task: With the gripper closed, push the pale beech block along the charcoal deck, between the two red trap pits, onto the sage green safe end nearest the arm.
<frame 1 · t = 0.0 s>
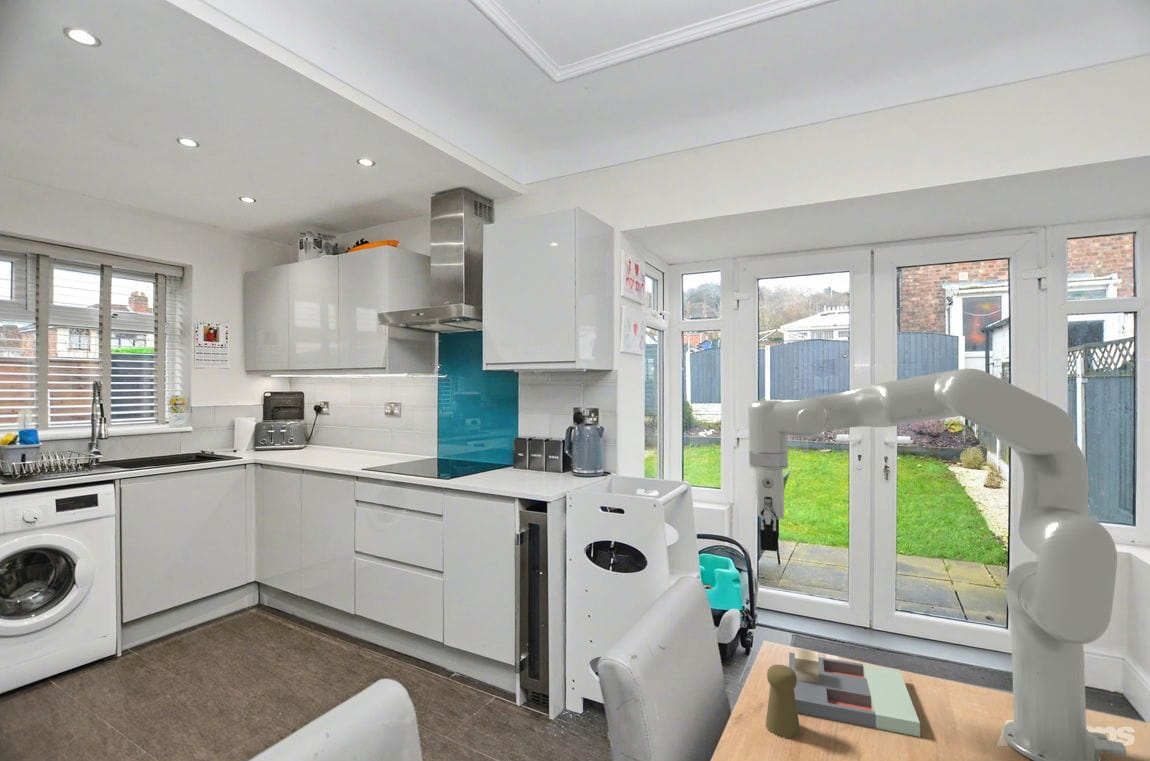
hand: (770, 543, 111), 31 cm above the table, tool pointing down, fingers open, 9 cm apart
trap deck: (846, 695, 111), on the table
olive pawn: (782, 729, 100), on the table
beech block: (806, 676, 114), point 2 cm above the table, touching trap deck
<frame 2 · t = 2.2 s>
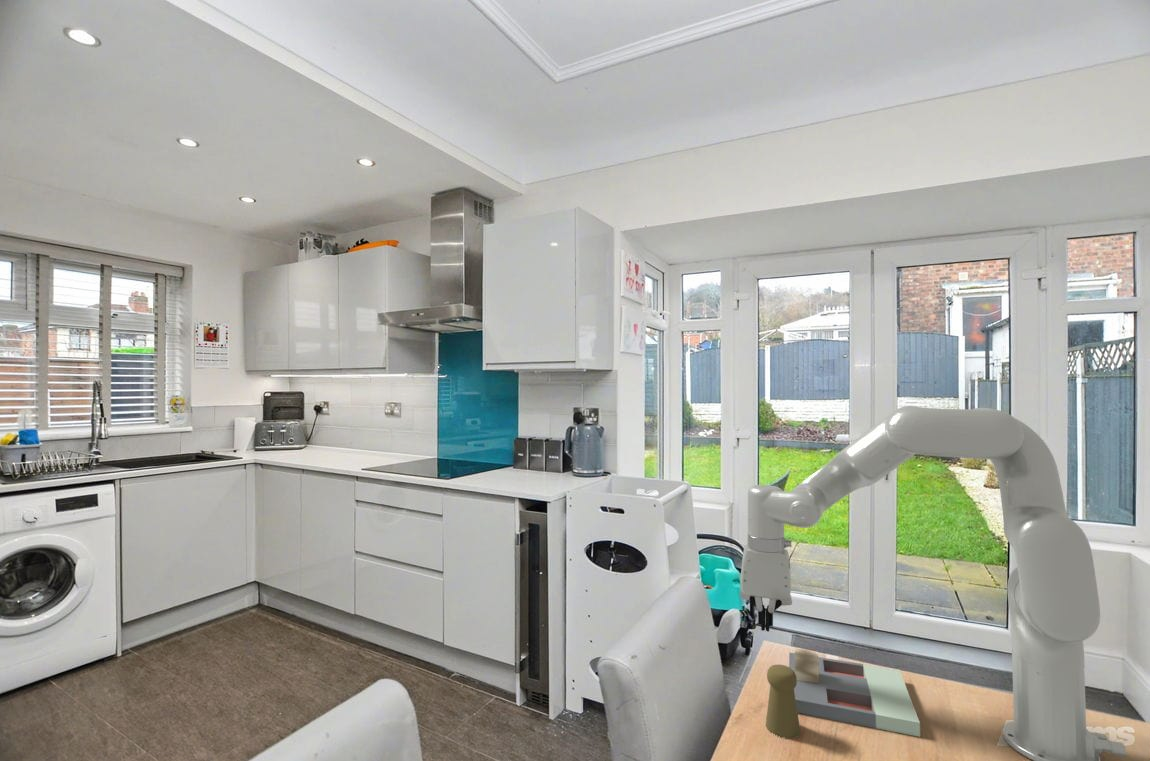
hand: (765, 628, 117), 11 cm above the table, tool pointing down, fingers closed
nothing on the table moved.
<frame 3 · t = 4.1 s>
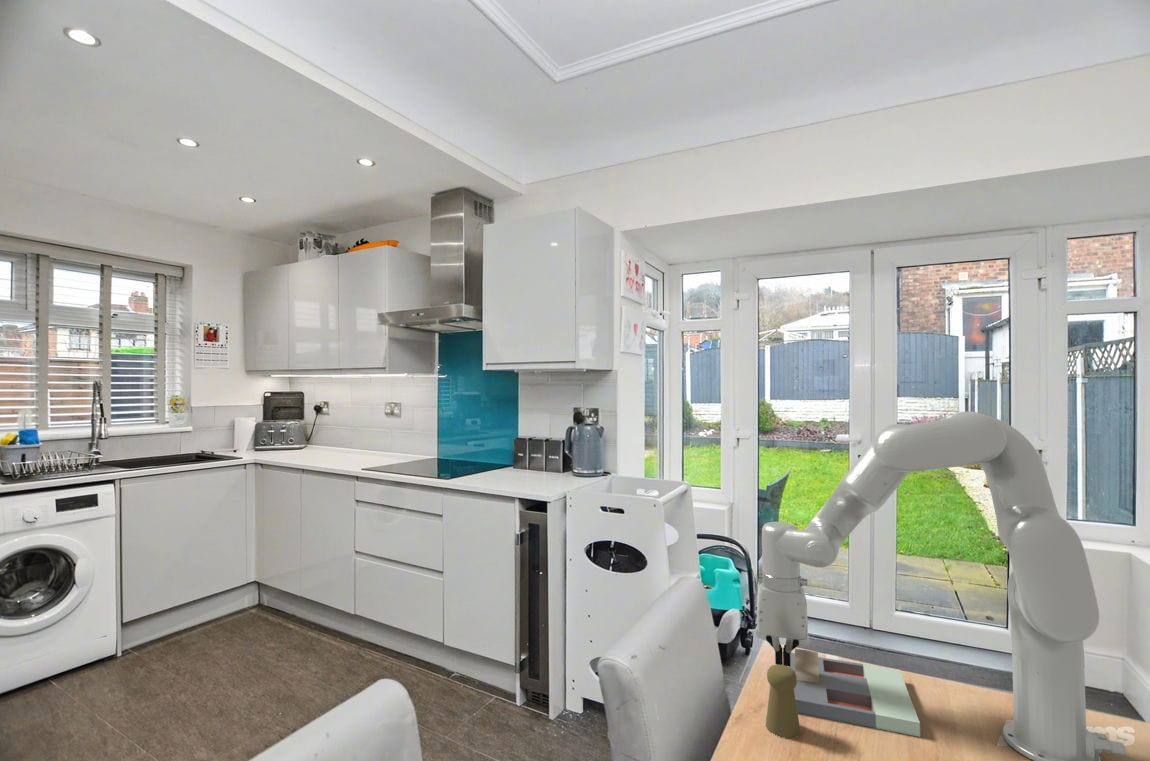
hand: (783, 668, 115), 3 cm above the table, tool pointing down, fingers closed
beech block: (806, 676, 114), point 3 cm above the table, touching gripper, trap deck
everything else where it was.
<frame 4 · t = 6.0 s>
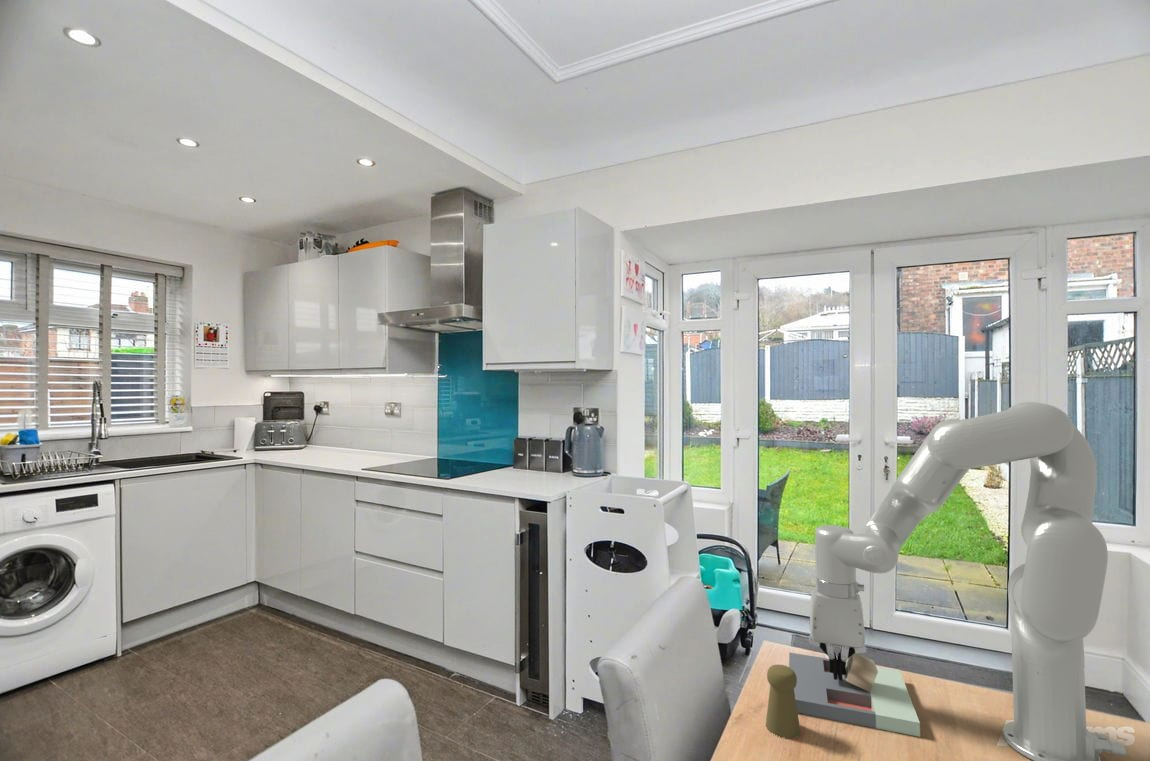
hand: (837, 676, 111), 4 cm above the table, tool pointing down, fingers closed
beech block: (856, 681, 110), point 3 cm above the table, tilted 19°, touching gripper
everything else where it was.
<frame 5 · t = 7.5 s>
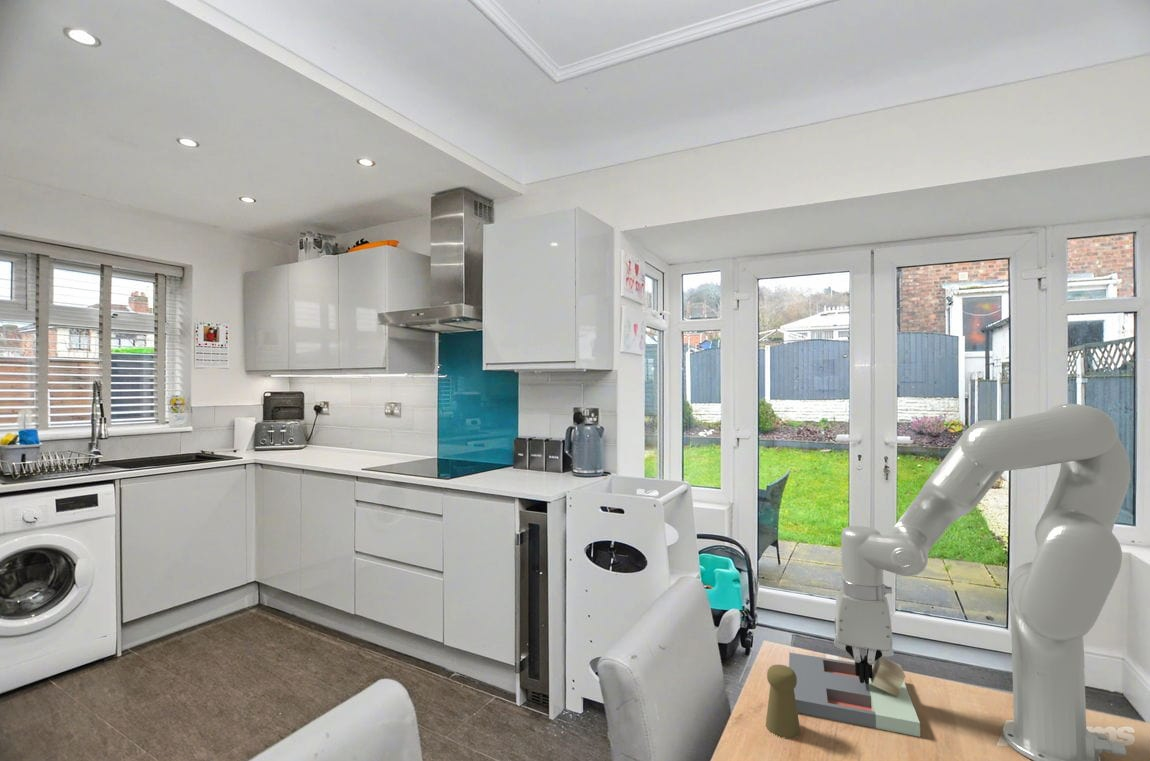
hand: (863, 680, 110), 4 cm above the table, tool pointing down, fingers closed
beech block: (882, 685, 109), point 3 cm above the table, tilted 20°, touching gripper, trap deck
everything else where it was.
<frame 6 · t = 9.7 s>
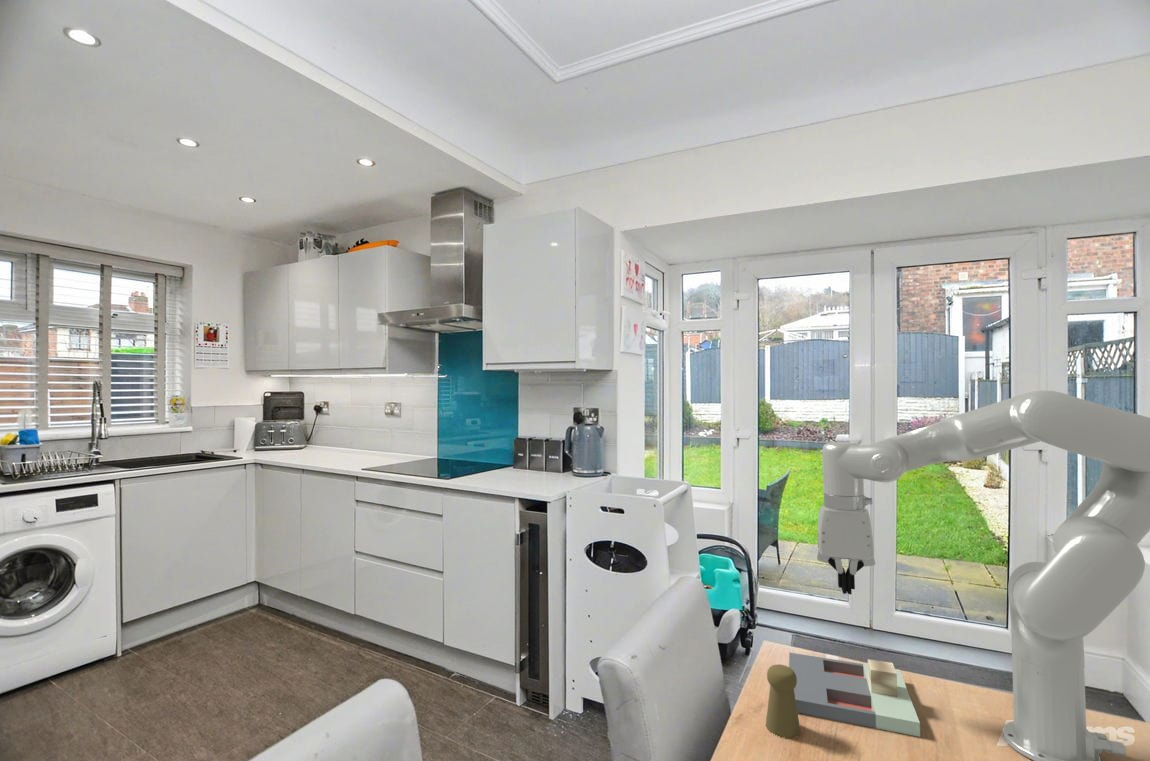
hand: (846, 591, 111), 21 cm above the table, tool pointing down, fingers closed
beech block: (882, 688, 109), point 2 cm above the table, touching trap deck
everything else where it was.
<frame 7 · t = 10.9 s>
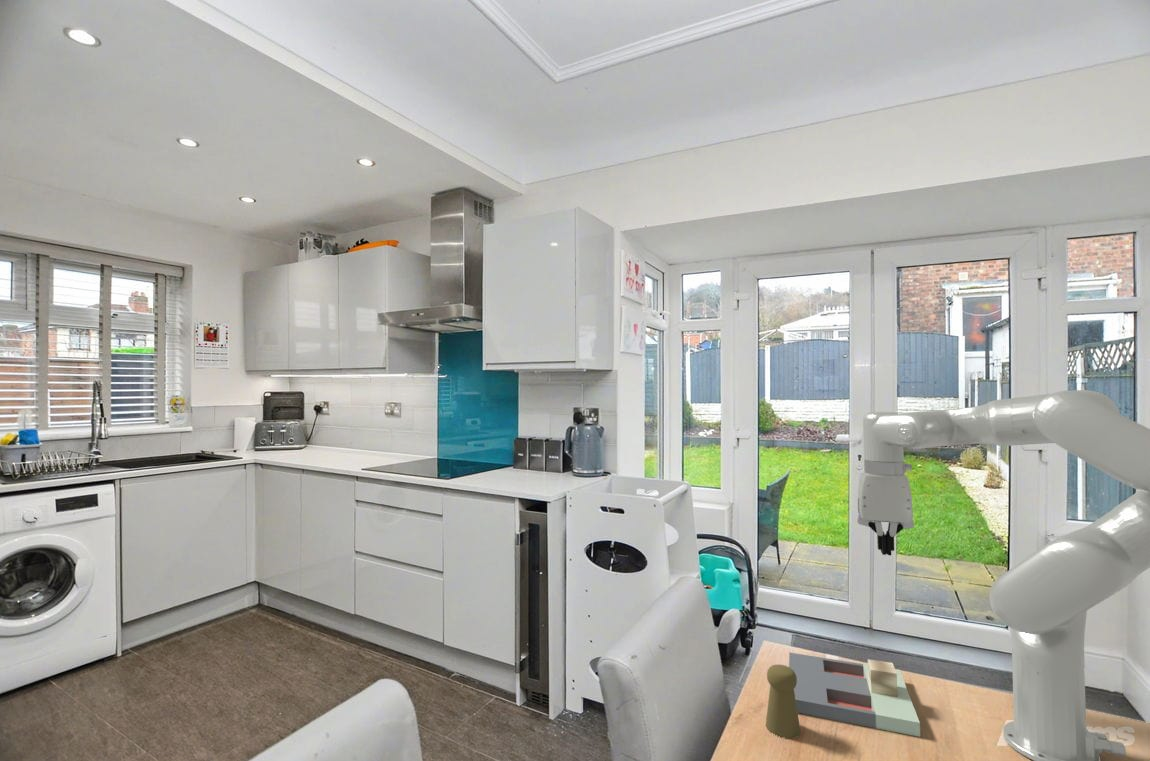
hand: (885, 553, 117), 27 cm above the table, tool pointing down, fingers closed
nothing on the table moved.
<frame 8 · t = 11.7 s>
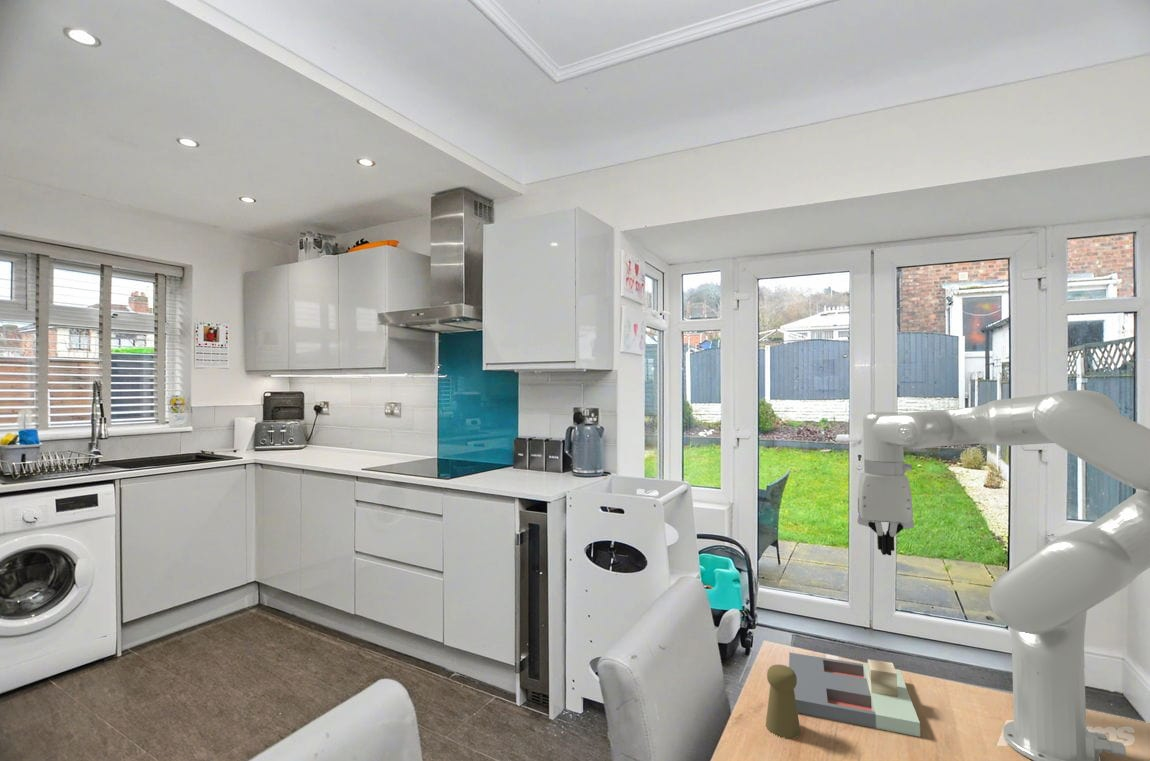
hand: (885, 553, 117), 27 cm above the table, tool pointing down, fingers closed
nothing on the table moved.
at the end: beech block 1.3 cm from the target spot on the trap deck, point 2.5 cm above the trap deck's base; beech block tilted 0° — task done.
